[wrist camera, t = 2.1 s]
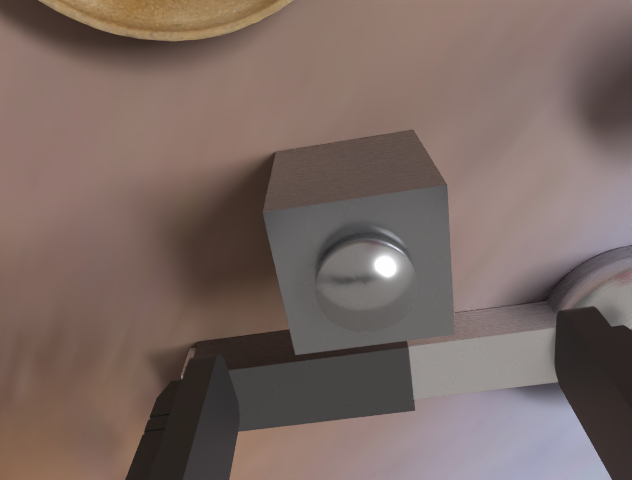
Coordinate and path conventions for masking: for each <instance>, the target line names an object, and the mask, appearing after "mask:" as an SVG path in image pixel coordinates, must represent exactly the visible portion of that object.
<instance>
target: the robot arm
mask: <svg viewBox="0 0 632 480" xmlns="http://www.w3.org/2000/svg"><path fill="white" fill-rule="evenodd" d="M554 364H555V371H556V376H557V379H558V382H559V385H560V387H561V389H562V391H563V393H564V394H565V396H566V398H567V400H568V402H569V403H570V405H571V407H572V409H573V411H574V412H575V414H576V416H577V418H578V419H579V421H580V423H581V425H582V427H583V428H584V430H585V432H586V434H587V436H588V437H589V439H590V441H591V443H592V444H593V446H594V448H595V450H596V452H597V453H598V455H599V457H600V459H601V461H602V462H603V464H604V466H605V468H606V469H607V471H608V473H609V475H610V477H611V478H612V480H632V330H631V329H629V328H628V327H626V326H624V325H619V326H611V325H610V324H609V323H608V321H607V320H606V319H605V318H604V316H603V315H602V314H601V313H600V311H599V310H598V309H597V308H596V307H594V306H589V307H581V308H574V309H566V310H560V311H558V313H557V317H556V335H555V357H554ZM239 422H240V411H239V403H238V399H237V396H236V393H235V390H234V387H233V384H232V381H231V378H230V375H229V372H228V369H227V366H226V363H225V360H224V358H223V356H222V355H221V354H216V355H208V356H200V357H193V358H190V359H189V361H188V363H187V366H186V369H185V372H184V375H183V378H182V380H179V381H171V382H170V383H169V385H168V386H167V387H166V388H165V389H164V390H163V392H162V393H161V394H160V395H159V396H158V397H157V399H156V402H155V404H154V407H153V410H152V412H151V415H150V420H148V422H147V425H146V428H145V430H144V432H145V433H144V435H142V438H141V441H140V443H139V446H138V448H137V451H136V453H135V456H134V459H133V461H132V464H131V466H130V469H129V472H128V474H127V477H126V479H125V480H229V478H230V472H231V467H232V462H233V456H234V451H235V445H236V440H237V435H238V429H239Z"/></svg>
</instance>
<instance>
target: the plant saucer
mask: <svg viewBox="0 0 632 480" xmlns="http://www.w3.org/2000/svg"><path fill="white" fill-rule="evenodd" d="M38 1H40V2H42V3H44V4H45V5H46V6H48V7H50V8H52V9H53V10H55V11H57V12H60V13H61V14H63V15H65V16H68V17H70V18H72V19H74V20H77V21H79V22H82V23H84V24H86V25H89V26H91V27H93V28H96V29H99V30H102V31H105V32H108V33H112V34H116V35H121V36H127V37H133V38H137V39H149V40H159V41H184V40H198V39H205V38H208V37H216V36H221V35H224V34H228V33H231V32H235V31H237V30H240V29H242V28H245V27H247V26H249V25H252V24H254V23H257V22H259V21H261V20H262V19H264V18H266V17H267V16H270V15H272V14H274V13H275V12H277V11H279V10H280V9H282V8H283V7H285V6H286V5H288V4H289V3H291V2H292V1H293V0H38Z"/></svg>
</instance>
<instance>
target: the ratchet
mask: <svg viewBox="0 0 632 480" xmlns="http://www.w3.org/2000/svg"><path fill="white" fill-rule="evenodd" d="M589 306H594V307H596V308H597V309H598V310H599V311H600V313H601V314H602V315H603V316H604V318H605V319H606V320H607V321H608V323H609V324H610V325H611V326H619V325H624V326H626V327H628V328H629V329H631V330H632V246H627V247H622V248H618V249H614V250H611V251H608V252H605V253H603V254H600V255H598V256H596V257H594V258H592V259H590V260H588V261H586V262H584V263H583V264H581V265H580V266H578V267H577V268H575V269H574V270H573V271H572V272H570V273H569V274H568V275H567V276H566V277H565V278H564V279H563V280H562V281H561V282H560V283H559V284H558V285H557V286H556V287H555V288H554V290H553V291H552V292H551V294H550V295H549V297H548V299H547V300H546V301H542V302H535V303H527V304H520V305H512V306H505V307H497V308H490V309H482V310H474V311H467V312H459V313H454V330H455V335H447V336H439V337H432V338H424V339H416V340H408V341H401V342H393V343H385V344H377V345H370V346H362V347H354V348H347V349H339V350H331V351H323V352H316V353H308V354H300V355H295V351H294V347H293V343H292V338H291V334H290V330H285V331H278V332H270V333H263V334H255V335H248V336H240V337H233V338H225V339H218V340H210V341H203V342H198V344H197V347H195V348H190V349H189V352H188V355H187V358H186V361H185V364H184V367H183V370H182V373H181V379H182V378H183V375H184V372H185V369H186V366H187V363H188V361H189V359H190V358H193V357H200V356H208V355H216V354H221V355H222V356H223V358H224V360H225V363H226V366H227V369H228V372H229V375H230V378H231V381H232V384H233V387H234V390H235V393H236V396H237V399H238V403H239V411H240V422H239V429H238V432H239V431H248V430H256V429H264V428H273V427H281V426H290V425H298V424H306V423H315V422H323V421H332V420H340V419H348V418H357V417H365V416H373V415H382V414H390V413H399V412H407V411H415V405H414V399H423V398H431V397H439V396H447V395H456V394H464V393H472V392H480V391H489V390H497V389H505V388H514V387H522V386H530V385H538V384H547V383H555V382H558V379H557V376H556V371H555V364H554V357H555V335H556V317H557V313H558V311H560V310H566V309H574V308H581V307H589Z"/></svg>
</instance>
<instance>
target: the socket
mask: <svg viewBox="0 0 632 480" xmlns="http://www.w3.org/2000/svg"><path fill="white" fill-rule="evenodd" d="M262 213H263V217H264V222H265V226H266V230H267V235H268V239H269V243H270V248H271V252H272V256H273V261H274V265H275V269H276V274H277V278H278V282H279V286H280V291H281V295H282V299H283V304H284V308H285V312H286V317H287V321H288V325H289V330H290V334H291V338H292V343H293V347H294V351H295V355H300V354H308V353H316V352H323V351H331V350H339V349H347V348H354V347H362V346H370V345H377V344H385V343H393V342H401V341H408V340H416V339H424V338H432V337H439V336H447V335H455V330H454V310H453V291H452V272H451V252H450V233H449V214H448V194H447V184H446V182H445V181H444V179H443V177H442V176H441V174H440V172H439V171H438V169H437V168H436V166H435V164H434V163H433V161H432V159H431V158H430V156H429V155H428V153H427V151H426V150H425V148H424V146H423V145H422V143H421V142H420V140H419V138H418V137H417V135H416V133H415V132H414V130H410V131H404V132H398V133H392V134H385V135H379V136H373V137H366V138H360V139H354V140H348V141H341V142H335V143H329V144H322V145H316V146H310V147H304V148H297V149H291V150H285V151H279V152H276V154H275V158H274V163H273V167H272V172H271V176H270V181H269V185H268V190H267V194H266V199H265V203H264V208H263V212H262Z"/></svg>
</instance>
